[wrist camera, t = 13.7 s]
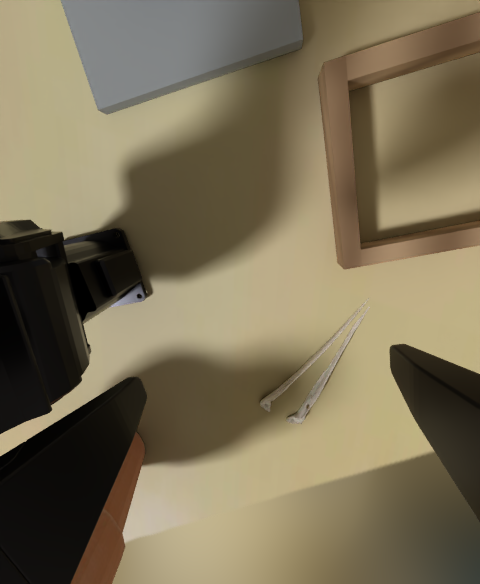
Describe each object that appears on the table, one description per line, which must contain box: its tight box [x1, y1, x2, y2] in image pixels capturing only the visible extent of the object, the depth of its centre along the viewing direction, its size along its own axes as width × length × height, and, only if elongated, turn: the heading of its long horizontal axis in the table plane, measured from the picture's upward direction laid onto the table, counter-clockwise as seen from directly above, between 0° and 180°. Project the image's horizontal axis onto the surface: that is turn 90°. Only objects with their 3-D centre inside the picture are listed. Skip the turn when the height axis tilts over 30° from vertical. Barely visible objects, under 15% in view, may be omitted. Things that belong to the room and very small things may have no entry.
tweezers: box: [260, 298, 370, 424], centre depth 23 cm, size 17×5×2 cm, turn 151°
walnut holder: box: [318, 12, 480, 269], centre depth 16 cm, size 12×12×2 cm
